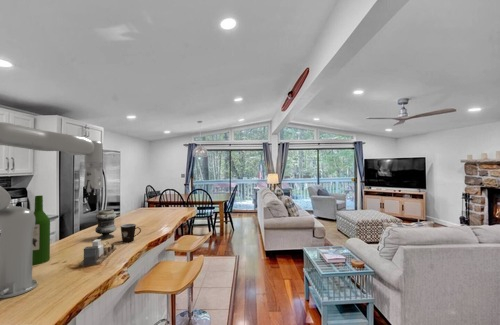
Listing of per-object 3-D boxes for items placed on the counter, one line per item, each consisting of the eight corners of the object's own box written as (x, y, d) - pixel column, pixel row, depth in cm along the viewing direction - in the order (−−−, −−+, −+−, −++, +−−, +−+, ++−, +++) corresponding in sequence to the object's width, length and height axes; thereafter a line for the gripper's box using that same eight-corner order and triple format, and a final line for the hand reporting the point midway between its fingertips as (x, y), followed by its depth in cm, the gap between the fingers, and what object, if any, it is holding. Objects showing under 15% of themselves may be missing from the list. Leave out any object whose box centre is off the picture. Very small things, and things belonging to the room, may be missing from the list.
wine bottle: (21, 266, 116) (22, 197, 116) (32, 259, 124) (33, 195, 125) (43, 264, 118) (44, 196, 118) (53, 257, 127) (54, 194, 127)
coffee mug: (117, 242, 152) (117, 226, 152) (129, 238, 160) (129, 223, 160) (129, 244, 147) (129, 228, 147) (141, 241, 154) (142, 225, 154)
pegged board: (99, 264, 118) (99, 247, 118) (78, 265, 116) (79, 249, 116) (116, 248, 140) (116, 234, 140) (99, 249, 138) (99, 235, 138)
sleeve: (99, 256, 123) (99, 241, 123) (89, 257, 122) (89, 242, 122) (103, 253, 127) (103, 238, 128) (94, 253, 127) (94, 239, 127)
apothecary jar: (107, 240, 155) (107, 212, 155) (90, 239, 157) (90, 211, 157) (120, 235, 167) (120, 208, 167) (104, 234, 169) (104, 208, 169)
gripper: (95, 165, 114) (94, 205, 114) (107, 165, 129) (107, 200, 129) (77, 165, 113) (76, 205, 112) (92, 165, 127) (91, 201, 127)
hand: (93, 203), depth 121 cm, fingers closed
